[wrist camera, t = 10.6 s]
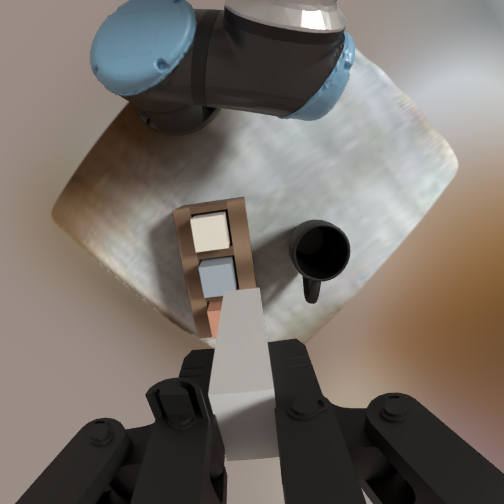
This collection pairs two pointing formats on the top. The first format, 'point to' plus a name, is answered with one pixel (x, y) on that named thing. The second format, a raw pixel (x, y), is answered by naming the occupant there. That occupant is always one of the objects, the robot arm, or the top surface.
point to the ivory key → (211, 230)
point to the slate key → (218, 275)
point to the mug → (318, 254)
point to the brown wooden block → (213, 254)
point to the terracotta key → (214, 316)
